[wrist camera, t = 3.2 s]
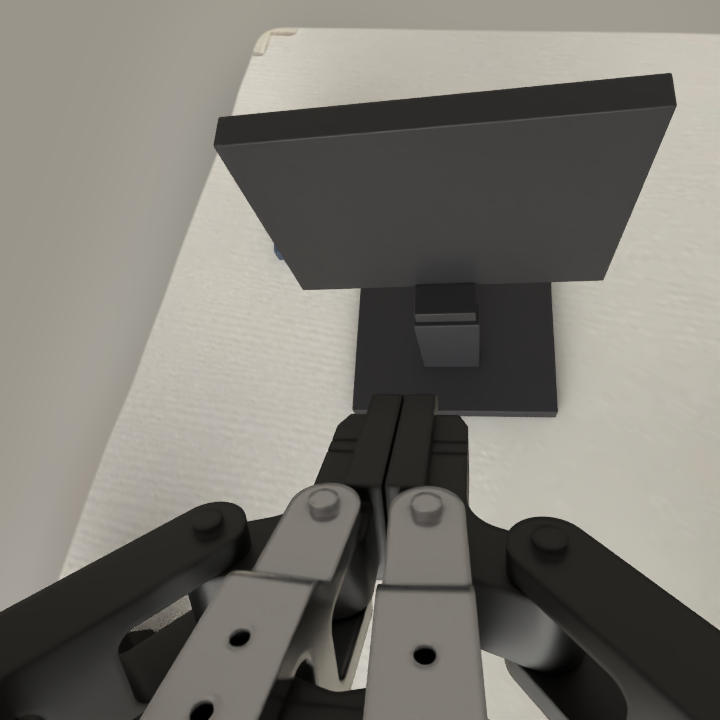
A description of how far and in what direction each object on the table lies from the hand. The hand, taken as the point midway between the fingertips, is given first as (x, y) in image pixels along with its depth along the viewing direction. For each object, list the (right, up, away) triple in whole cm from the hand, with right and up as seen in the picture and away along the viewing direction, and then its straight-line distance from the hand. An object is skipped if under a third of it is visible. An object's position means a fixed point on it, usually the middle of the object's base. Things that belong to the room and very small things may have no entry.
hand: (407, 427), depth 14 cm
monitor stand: (+5, +3, +26) cm, 27 cm away
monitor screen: (+4, +5, +18) cm, 19 cm away
